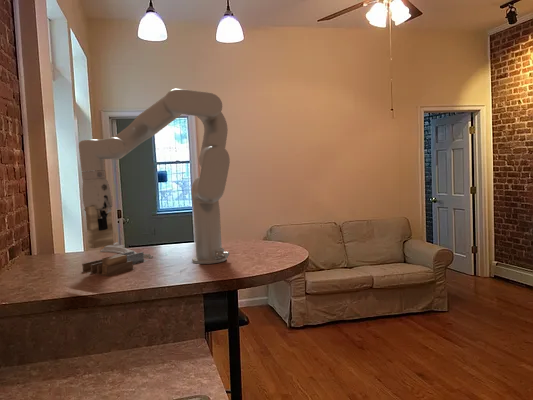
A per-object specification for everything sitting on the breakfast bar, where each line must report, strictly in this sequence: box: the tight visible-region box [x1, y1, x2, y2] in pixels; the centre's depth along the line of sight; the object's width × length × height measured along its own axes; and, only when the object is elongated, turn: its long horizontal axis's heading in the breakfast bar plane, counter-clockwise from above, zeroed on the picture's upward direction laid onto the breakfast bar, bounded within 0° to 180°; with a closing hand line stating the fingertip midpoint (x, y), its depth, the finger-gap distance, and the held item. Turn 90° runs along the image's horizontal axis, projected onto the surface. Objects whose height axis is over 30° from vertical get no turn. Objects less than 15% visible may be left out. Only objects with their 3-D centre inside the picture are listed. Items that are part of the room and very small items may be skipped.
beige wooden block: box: [84, 206, 115, 249], centre depth 158 cm, size 3×8×14 cm, turn 147°
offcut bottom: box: [102, 266, 107, 274], centre depth 155 cm, size 4×8×2 cm, turn 147°
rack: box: [81, 258, 135, 277], centre depth 157 cm, size 15×11×4 cm
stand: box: [112, 250, 150, 266], centre depth 169 cm, size 9×11×4 cm
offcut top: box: [101, 253, 127, 267], centre depth 155 cm, size 4×7×2 cm, turn 147°
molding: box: [99, 242, 154, 260], centre depth 193 cm, size 42×12×3 cm, turn 35°
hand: (99, 229), depth 158 cm, fingers closed on beige wooden block, 3 cm apart
